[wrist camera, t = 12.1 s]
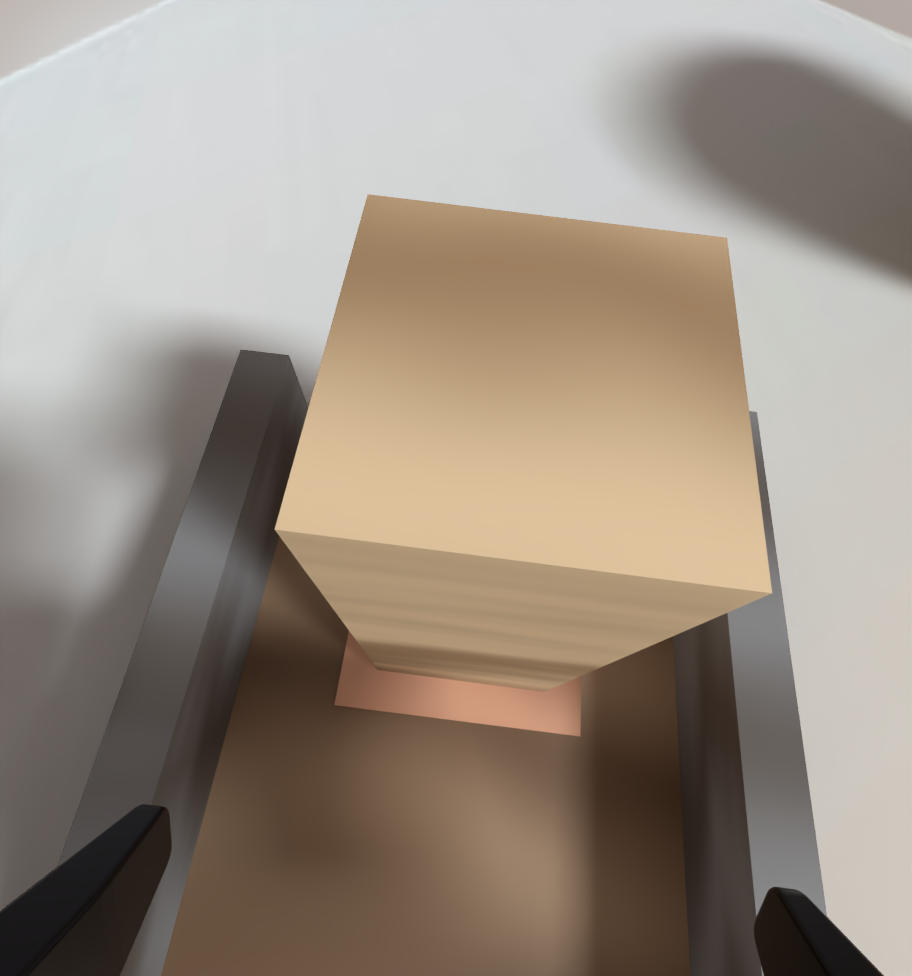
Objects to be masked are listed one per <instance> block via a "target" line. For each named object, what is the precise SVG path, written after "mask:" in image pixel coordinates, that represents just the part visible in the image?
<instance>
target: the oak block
mask: <svg viewBox="0 0 912 976" xmlns="http://www.w3.org/2000/svg"><path fill="white" fill-rule="evenodd" d="M275 531H276V532H277V533H278V535H279V536H280V538H281V539H282V540H283V542H284V543H285V544H286V546H287V547H288V548H289V550H290V551H291V552H292V554H293V555H294V557H295V558H296V559H297V561H298V562H299V563H300V565H301V566H302V567H303V569H304V570H305V571H306V573H307V574H308V576H309V577H310V578H311V580H312V581H313V582H314V584H315V585H316V586H317V588H318V589H319V590H320V592H321V593H322V595H323V596H324V597H325V599H326V600H327V601H328V603H329V604H330V605H331V607H332V608H333V610H334V611H335V612H336V614H337V615H338V616H339V618H340V619H341V620H342V622H343V623H344V624H345V626H346V627H347V629H348V630H349V631H350V633H351V634H352V635H353V637H354V638H355V639H356V641H357V642H358V643H359V645H360V646H361V648H362V649H363V650H364V652H365V653H366V654H367V656H368V657H369V658H370V660H371V661H372V663H373V664H374V665H375V667H376V668H377V669H378V670H381V671H388V672H396V673H404V674H411V675H419V676H427V677H434V678H442V679H449V680H457V681H465V682H472V683H480V684H488V685H495V686H503V687H510V688H518V689H526V690H533V691H541V692H545V691H547V690H550V689H552V688H554V687H557V686H559V685H561V684H564V683H566V682H568V681H570V680H573V679H575V678H577V677H580V676H582V675H584V674H587V673H589V672H591V671H594V670H596V669H598V668H601V667H603V666H605V665H608V664H610V663H612V662H614V661H617V660H619V659H621V658H624V657H626V656H628V655H631V654H633V653H635V652H638V651H640V650H642V649H645V648H647V647H649V646H651V645H654V644H656V643H658V642H661V641H663V640H665V639H668V638H670V637H672V636H675V635H677V634H679V633H682V632H684V631H686V630H689V629H691V628H693V627H695V626H698V625H700V624H702V623H705V622H707V621H709V620H712V619H714V618H716V617H719V616H721V615H723V614H726V613H728V612H730V611H732V610H735V609H737V608H739V607H742V606H744V605H746V604H749V603H751V602H753V601H756V600H758V599H760V598H763V597H765V596H767V595H770V594H772V587H771V580H770V572H769V564H768V556H767V548H766V540H765V533H764V525H763V517H762V509H761V501H760V493H759V486H758V478H757V470H756V462H755V454H754V446H753V439H752V431H751V423H750V415H749V407H748V399H747V392H746V384H745V376H744V368H743V360H742V352H741V345H740V337H739V329H738V321H737V313H736V305H735V297H734V290H733V282H732V274H731V266H730V258H729V250H728V243H727V238H724V237H716V236H707V235H699V234H691V233H683V232H674V231H666V230H658V229H650V228H641V227H633V226H625V225H616V224H608V223H600V222H592V221H583V220H575V219H567V218H558V217H550V216H542V215H534V214H525V213H517V212H509V211H500V210H492V209H484V208H476V207H467V206H459V205H451V204H443V203H434V202H426V201H418V200H409V199H401V198H393V197H385V196H376V195H368V196H367V199H366V203H365V206H364V210H363V214H362V217H361V221H360V224H359V228H358V232H357V235H356V239H355V242H354V246H353V249H352V253H351V257H350V260H349V264H348V267H347V271H346V275H345V278H344V282H343V285H342V289H341V293H340V296H339V300H338V303H337V307H336V311H335V314H334V318H333V321H332V325H331V329H330V332H329V336H328V339H327V343H326V347H325V350H324V354H323V357H322V361H321V364H320V368H319V372H318V375H317V379H316V382H315V386H314V390H313V393H312V397H311V400H310V404H309V408H308V411H307V415H306V418H305V422H304V426H303V429H302V433H301V436H300V440H299V444H298V447H297V451H296V454H295V458H294V461H293V465H292V469H291V472H290V476H289V479H288V483H287V487H286V490H285V494H284V497H283V501H282V505H281V508H280V512H279V515H278V519H277V523H276V526H275Z"/></svg>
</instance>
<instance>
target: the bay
mask: <svg viewBox="0 0 912 976" xmlns="http://www.w3.org/2000/svg"><path fill="white" fill-rule="evenodd" d="M307 411H308V406H307V404H306V401H305V398H304V395H303V393H302V390H301V387H300V385H299V382H298V379H297V376H296V374H295V371H294V368H293V365H292V363H291V360H290V357H289V355H281V354H273V353H264V352H256V351H248V350H241V351H240V354H239V356H238V359H237V362H236V365H235V368H234V370H233V373H232V376H231V379H230V382H229V385H228V387H227V390H226V393H225V396H224V399H223V401H222V404H221V407H220V410H219V413H218V416H217V418H216V421H215V424H214V427H213V430H212V432H211V435H210V438H209V441H208V444H207V447H206V449H205V452H204V455H203V458H202V461H201V464H200V466H199V469H198V472H197V475H196V478H195V480H194V483H193V486H192V489H191V492H190V495H189V497H188V500H187V503H186V506H185V509H184V511H183V514H182V517H181V520H180V523H179V526H178V528H177V531H176V534H175V537H174V540H173V542H172V545H171V548H170V551H169V554H168V557H167V559H166V562H165V565H164V568H163V571H162V573H161V576H160V579H159V582H158V585H157V588H156V590H155V593H154V596H153V599H152V602H151V604H150V607H149V610H148V613H147V616H146V619H145V621H144V624H143V627H142V630H141V633H140V635H139V638H138V641H137V644H136V647H135V650H134V652H133V655H132V658H131V661H130V664H129V666H128V669H127V672H126V675H125V678H124V681H123V683H122V686H121V689H120V692H119V695H118V698H117V700H116V703H115V706H114V709H113V712H112V714H111V717H110V720H109V723H108V726H107V729H106V731H105V734H104V737H103V740H102V743H101V745H100V748H99V751H98V754H97V757H96V760H95V762H94V765H93V768H92V771H91V774H90V776H89V779H88V782H87V785H86V788H85V791H84V793H83V796H82V799H81V802H80V805H79V807H78V810H77V813H76V816H75V819H74V822H73V824H72V827H71V830H70V833H69V836H68V838H67V841H66V844H65V847H64V850H63V853H62V855H61V858H60V861H59V864H58V866H59V865H61V864H62V863H63V862H64V861H66V860H67V859H68V858H70V857H71V856H72V855H74V854H75V853H76V852H77V851H79V850H80V849H81V848H83V847H84V846H85V845H87V844H88V843H89V842H90V841H92V840H93V839H94V838H96V837H97V836H98V835H99V834H101V833H102V832H103V831H105V830H106V829H107V828H109V827H110V826H111V825H112V824H114V823H115V822H116V821H118V820H119V819H120V818H121V817H123V816H124V815H125V814H127V813H128V812H129V811H131V810H132V809H133V808H135V807H137V806H139V805H141V804H149V805H157V806H164V807H166V808H167V809H168V810H169V814H170V826H171V838H172V850H171V855H170V859H169V862H168V864H167V867H166V869H165V872H164V874H163V876H162V879H161V881H160V883H159V886H158V888H157V890H156V893H155V895H154V897H153V900H152V902H151V904H150V907H149V909H148V911H147V914H146V916H145V918H144V921H143V923H142V926H141V928H140V930H139V933H138V935H137V937H136V940H135V942H134V944H133V947H132V949H131V951H130V954H129V956H128V958H127V961H126V963H125V965H124V968H123V970H122V972H121V974H120V976H764V974H763V971H762V967H761V963H760V959H759V956H758V952H757V948H756V944H755V940H754V922H755V919H756V917H757V914H758V912H759V910H760V907H761V905H762V903H763V901H764V898H765V896H766V894H767V892H768V890H769V889H770V888H772V887H782V888H790V889H796V890H799V891H801V892H802V893H804V894H805V895H806V896H807V897H808V898H809V899H810V900H811V901H812V902H813V903H814V904H815V905H816V906H817V907H818V908H819V909H820V910H821V911H822V912H823V913H824V914H825V915H826V916H827V914H826V907H825V899H824V892H823V885H822V878H821V871H820V863H819V856H818V849H817V842H816V835H815V828H814V820H813V813H812V806H811V799H810V792H809V784H808V777H807V770H806V763H805V756H804V748H803V741H802V734H801V727H800V720H799V713H798V705H797V698H796V691H795V684H794V677H793V669H792V662H791V655H790V648H789V641H788V633H787V626H786V619H785V612H784V605H783V598H782V590H781V583H780V576H779V569H778V562H777V554H776V547H775V540H774V533H773V526H772V519H771V511H770V504H769V497H768V490H767V483H766V475H765V468H764V461H763V454H762V447H761V439H760V432H759V425H758V418H757V412H751V411H749V415H750V423H751V431H752V439H753V446H754V454H755V462H756V470H757V478H758V486H759V493H760V501H761V509H762V517H763V525H764V533H765V540H766V548H767V556H768V564H769V572H770V580H771V587H772V594H770V595H767V596H765V597H763V598H760V599H758V600H756V601H753V602H751V603H749V604H746V605H744V606H742V607H739V608H737V609H735V610H732V611H730V612H728V613H726V614H723V615H721V616H719V617H716V618H714V619H712V620H709V621H707V622H705V623H702V624H700V625H698V626H695V627H693V628H691V629H689V630H686V631H684V632H682V633H679V634H677V635H675V636H672V637H670V638H668V639H665V640H663V641H661V642H658V643H656V644H654V645H651V646H649V647H647V648H645V649H642V650H640V651H638V652H635V653H633V654H631V655H628V656H626V657H624V658H621V659H619V660H617V661H614V662H612V663H610V664H608V665H605V666H603V667H601V668H598V669H596V670H594V671H591V672H589V673H587V674H584V675H582V676H580V677H577V678H575V679H573V680H570V681H568V682H566V683H564V684H561V685H559V686H557V687H554V688H552V689H550V690H547V691H545V692H541V691H533V690H526V689H518V688H510V687H503V686H495V685H488V684H480V683H472V682H465V681H457V680H449V679H442V678H434V677H427V676H419V675H411V674H404V673H396V672H388V671H381V670H378V669H377V668H376V667H375V665H374V664H373V663H372V661H371V660H370V658H369V657H368V656H367V654H366V653H365V652H364V650H363V649H362V648H361V646H360V645H359V643H358V642H357V641H356V639H355V638H354V637H353V635H352V634H351V633H350V631H349V630H348V629H347V627H346V626H345V624H344V623H343V622H342V620H341V619H340V618H339V616H338V615H337V614H336V612H335V611H334V610H333V608H332V607H331V605H330V604H329V603H328V601H327V600H326V599H325V597H324V596H323V595H322V593H321V592H320V590H319V589H318V588H317V586H316V585H315V584H314V582H313V581H312V580H311V578H310V577H309V576H308V574H307V573H306V571H305V570H304V569H303V567H302V566H301V565H300V563H299V562H298V561H297V559H296V558H295V557H294V555H293V554H292V552H291V551H290V550H289V548H288V547H287V546H286V544H285V543H284V542H283V540H282V539H281V538H280V536H279V535H278V533H277V532H276V531H275V526H276V523H277V519H278V515H279V512H280V508H281V505H282V501H283V497H284V494H285V490H286V487H287V483H288V479H289V476H290V472H291V469H292V465H293V461H294V458H295V454H296V451H297V447H298V444H299V440H300V436H301V433H302V429H303V426H304V422H305V418H306V415H307Z"/></svg>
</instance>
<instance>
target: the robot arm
mask: <svg viewBox="0 0 912 976" xmlns="http://www.w3.org/2000/svg"><path fill="white" fill-rule="evenodd" d="M171 850H172V838H171V826H170V814H169V810H168V809H167V808H166V807H164V806H157V805H149V804H141V805H139V806H137V807H135V808H133V809H132V810H131V811H129V812H128V813H127V814H125V815H124V816H123V817H121V818H120V819H119V820H118V821H116V822H115V823H114V824H112V825H111V826H110V827H109V828H107V829H106V830H105V831H103V832H102V833H101V834H99V835H98V836H97V837H96V838H94V839H93V840H92V841H90V842H89V843H88V844H87V845H85V846H84V847H83V848H81V849H80V850H79V851H77V852H76V853H75V854H74V855H72V856H71V857H70V858H68V859H67V860H66V861H64V862H63V863H62V864H61V865H59V866H58V867H57V868H55V869H54V870H53V871H52V872H50V873H49V874H48V875H46V876H45V877H44V878H42V879H41V880H40V881H39V882H37V883H36V884H35V885H33V886H32V887H31V888H29V889H28V890H27V891H26V892H24V893H23V894H22V895H20V896H19V897H18V898H17V899H15V900H14V901H13V902H11V903H10V904H9V905H7V906H6V907H5V908H4V909H2V910H1V911H0V976H120V974H121V972H122V970H123V968H124V965H125V963H126V961H127V958H128V956H129V954H130V951H131V949H132V947H133V944H134V942H135V940H136V937H137V935H138V933H139V930H140V928H141V926H142V923H143V921H144V918H145V916H146V914H147V911H148V909H149V907H150V904H151V902H152V900H153V897H154V895H155V893H156V890H157V888H158V886H159V883H160V881H161V879H162V876H163V874H164V872H165V869H166V867H167V864H168V862H169V859H170V855H171ZM754 940H755V944H756V948H757V952H758V956H759V959H760V963H761V967H762V971H763V974H764V976H884V975H883V974H882V973H881V972H880V971H879V970H878V969H877V968H876V967H875V966H874V965H873V964H872V963H871V962H870V961H869V960H868V959H867V958H866V957H865V956H864V955H863V954H862V953H861V952H860V951H859V949H858V948H857V947H856V946H855V945H854V944H853V943H852V942H851V941H850V940H849V939H848V938H847V937H846V936H845V935H844V934H843V933H842V932H841V931H840V930H839V929H838V928H837V927H836V926H835V925H834V924H833V923H832V921H831V920H830V919H829V918H828V917H827V916H826V915H825V914H824V913H823V912H822V911H821V910H820V909H819V908H818V907H817V906H816V905H815V904H814V903H813V902H812V901H811V900H810V899H809V898H808V897H807V896H806V895H805V894H804V893H802V892H801V891H799V890H796V889H790V888H782V887H772V888H770V889H769V890H768V892H767V894H766V896H765V898H764V901H763V903H762V905H761V907H760V910H759V912H758V914H757V917H756V919H755V922H754Z"/></svg>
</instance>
